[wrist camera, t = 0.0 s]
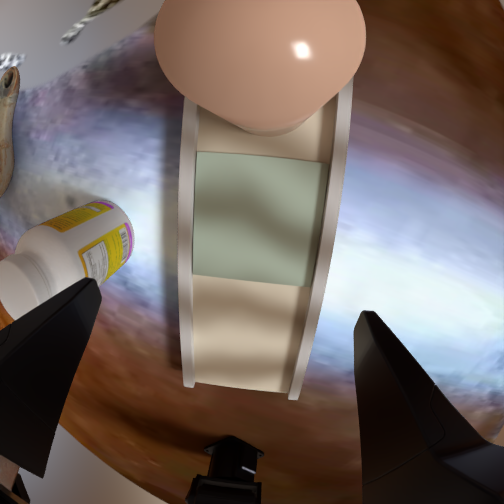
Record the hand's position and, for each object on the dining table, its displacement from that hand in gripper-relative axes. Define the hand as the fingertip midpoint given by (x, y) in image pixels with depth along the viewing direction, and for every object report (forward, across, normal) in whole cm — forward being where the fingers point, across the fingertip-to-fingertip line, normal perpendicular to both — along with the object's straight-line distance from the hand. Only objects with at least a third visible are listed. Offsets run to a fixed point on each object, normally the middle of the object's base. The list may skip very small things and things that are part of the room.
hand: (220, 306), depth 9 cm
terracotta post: (+16, 0, -5) cm, 17 cm away
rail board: (+14, 0, +7) cm, 16 cm away
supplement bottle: (+14, +14, +7) cm, 21 cm away
